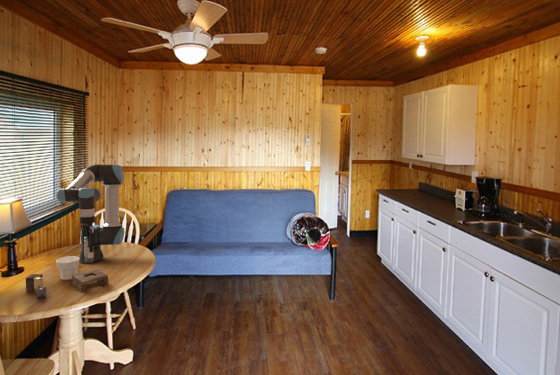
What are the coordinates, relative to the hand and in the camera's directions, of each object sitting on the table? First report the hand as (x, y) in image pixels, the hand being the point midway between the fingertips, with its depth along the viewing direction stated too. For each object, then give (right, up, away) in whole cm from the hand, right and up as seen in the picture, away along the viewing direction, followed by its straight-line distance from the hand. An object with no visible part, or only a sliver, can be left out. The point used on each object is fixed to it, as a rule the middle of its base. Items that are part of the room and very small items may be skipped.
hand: (89, 256), depth 213 cm
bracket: (-1, -17, +3) cm, 17 cm away
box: (-28, -17, -4) cm, 33 cm away
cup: (-19, -15, +13) cm, 28 cm away
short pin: (-17, -19, -15) cm, 29 cm away
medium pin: (-23, -18, -9) cm, 30 cm away
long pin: (0, -3, 0) cm, 3 cm away
